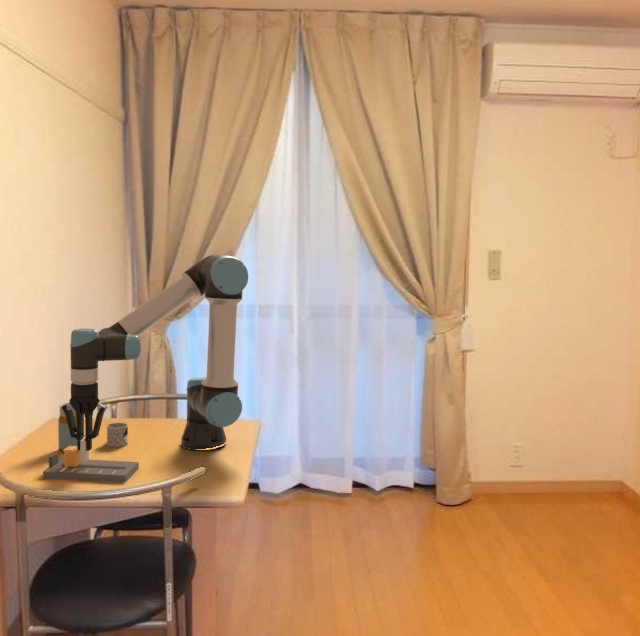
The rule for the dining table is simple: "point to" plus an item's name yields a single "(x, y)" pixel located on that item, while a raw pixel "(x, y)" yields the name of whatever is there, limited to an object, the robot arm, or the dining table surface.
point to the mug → (117, 434)
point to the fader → (71, 456)
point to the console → (91, 470)
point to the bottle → (65, 430)
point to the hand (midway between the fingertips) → (84, 460)
